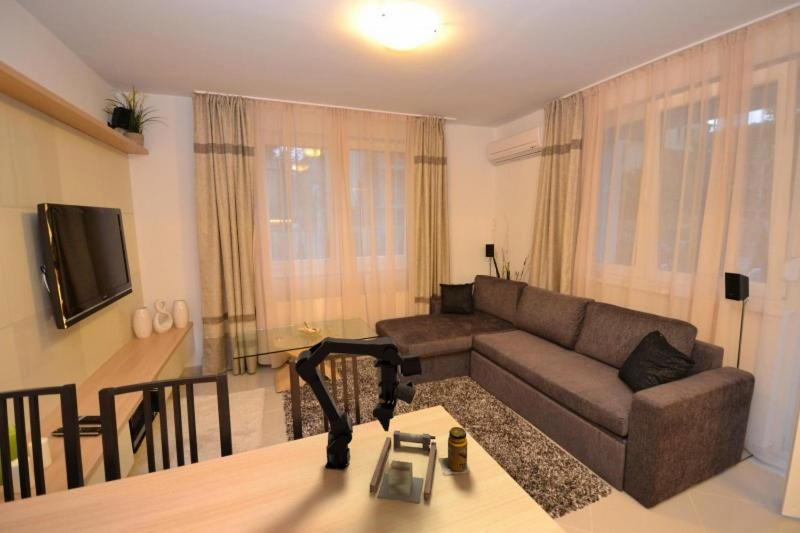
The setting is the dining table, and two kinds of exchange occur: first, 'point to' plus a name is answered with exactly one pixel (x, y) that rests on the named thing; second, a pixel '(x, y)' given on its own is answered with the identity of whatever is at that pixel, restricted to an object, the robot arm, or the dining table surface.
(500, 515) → the dining table surface
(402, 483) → the block
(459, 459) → the condiment
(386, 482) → the front pad
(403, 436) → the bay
